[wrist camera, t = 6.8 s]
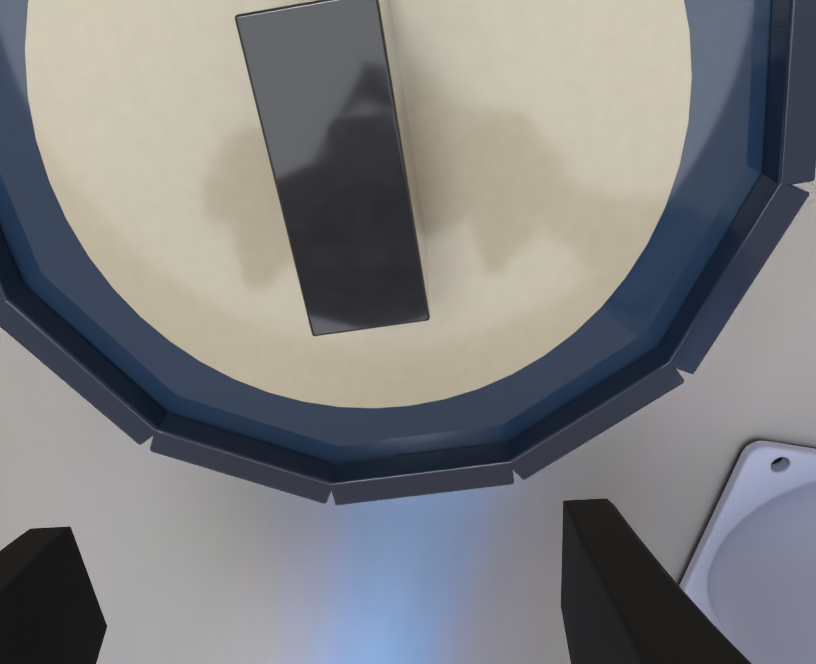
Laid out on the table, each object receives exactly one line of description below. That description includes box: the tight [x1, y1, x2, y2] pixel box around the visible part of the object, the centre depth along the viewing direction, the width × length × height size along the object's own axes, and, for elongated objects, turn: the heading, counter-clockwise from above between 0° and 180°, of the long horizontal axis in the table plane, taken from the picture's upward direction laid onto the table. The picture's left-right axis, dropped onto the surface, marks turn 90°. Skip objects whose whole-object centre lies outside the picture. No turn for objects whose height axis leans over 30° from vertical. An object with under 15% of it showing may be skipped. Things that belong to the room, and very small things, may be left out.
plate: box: [0, 0, 816, 505], centre depth 13 cm, size 18×18×5 cm
